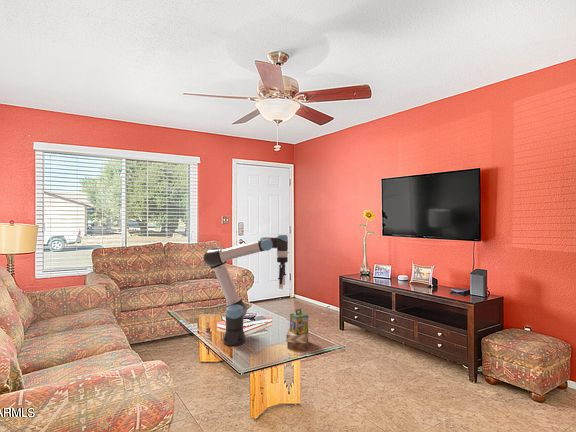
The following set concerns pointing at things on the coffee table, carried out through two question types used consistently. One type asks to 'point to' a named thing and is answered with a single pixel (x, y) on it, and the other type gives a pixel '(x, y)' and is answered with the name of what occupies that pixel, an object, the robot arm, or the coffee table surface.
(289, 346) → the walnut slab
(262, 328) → the coffee table surface
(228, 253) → the robot arm
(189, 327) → the coffee table surface
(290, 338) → the birch slab
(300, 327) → the chalk box
